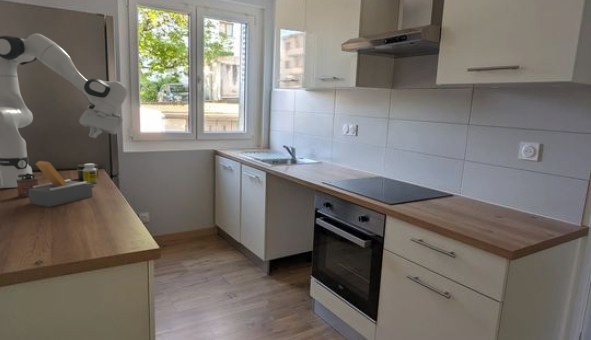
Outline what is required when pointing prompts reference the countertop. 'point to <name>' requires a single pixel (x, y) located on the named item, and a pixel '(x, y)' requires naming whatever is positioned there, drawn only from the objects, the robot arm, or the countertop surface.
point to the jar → (80, 170)
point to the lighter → (26, 184)
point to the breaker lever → (51, 173)
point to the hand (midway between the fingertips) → (92, 137)
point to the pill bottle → (90, 174)
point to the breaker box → (59, 193)
